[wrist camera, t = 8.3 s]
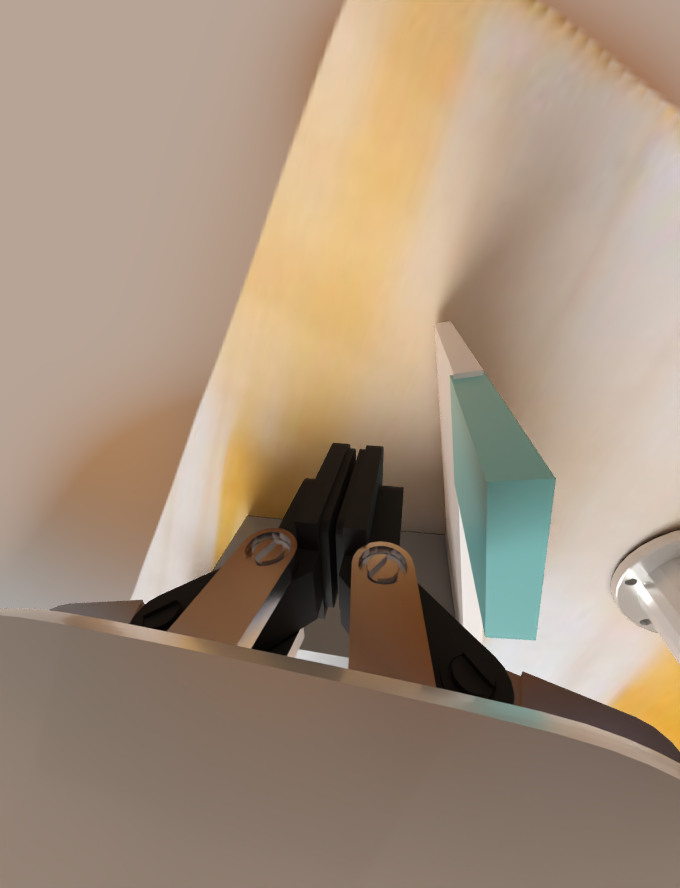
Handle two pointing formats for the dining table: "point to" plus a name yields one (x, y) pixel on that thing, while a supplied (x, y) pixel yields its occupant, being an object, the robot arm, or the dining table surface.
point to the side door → (490, 499)
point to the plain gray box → (328, 635)
